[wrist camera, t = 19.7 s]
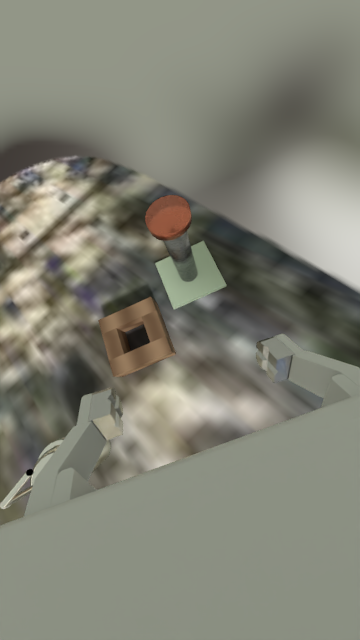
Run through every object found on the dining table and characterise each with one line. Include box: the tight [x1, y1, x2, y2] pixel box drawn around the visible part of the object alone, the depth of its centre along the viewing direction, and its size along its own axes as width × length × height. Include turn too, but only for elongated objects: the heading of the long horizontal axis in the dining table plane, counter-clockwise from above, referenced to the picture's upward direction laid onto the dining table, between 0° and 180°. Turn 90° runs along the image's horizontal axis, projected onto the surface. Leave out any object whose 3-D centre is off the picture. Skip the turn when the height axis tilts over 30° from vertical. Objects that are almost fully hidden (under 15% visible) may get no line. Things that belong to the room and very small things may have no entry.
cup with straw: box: [0, 437, 111, 509], centre depth 30 cm, size 8×9×20 cm
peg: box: [145, 195, 198, 282], centre depth 37 cm, size 6×6×17 cm
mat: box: [155, 241, 226, 309], centre depth 45 cm, size 12×12×1 cm
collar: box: [98, 297, 176, 377], centre depth 42 cm, size 12×12×4 cm
